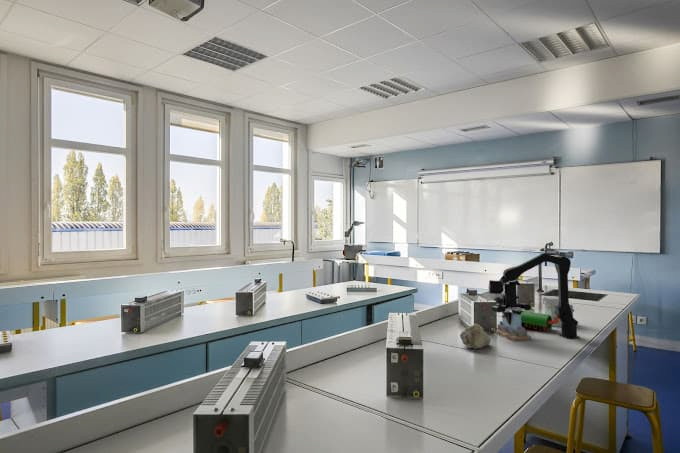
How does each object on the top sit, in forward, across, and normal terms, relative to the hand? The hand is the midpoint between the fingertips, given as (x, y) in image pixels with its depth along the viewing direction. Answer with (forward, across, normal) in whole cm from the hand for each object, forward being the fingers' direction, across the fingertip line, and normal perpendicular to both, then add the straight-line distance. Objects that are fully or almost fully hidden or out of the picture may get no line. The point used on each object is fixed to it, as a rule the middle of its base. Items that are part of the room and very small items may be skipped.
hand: (511, 324), depth 205 cm
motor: (+1, -14, -15) cm, 21 cm away
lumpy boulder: (+6, +27, +12) cm, 30 cm away
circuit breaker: (+6, -38, -12) cm, 40 cm away
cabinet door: (+2, 0, 0) cm, 2 cm away
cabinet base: (+6, +1, -1) cm, 6 cm away
